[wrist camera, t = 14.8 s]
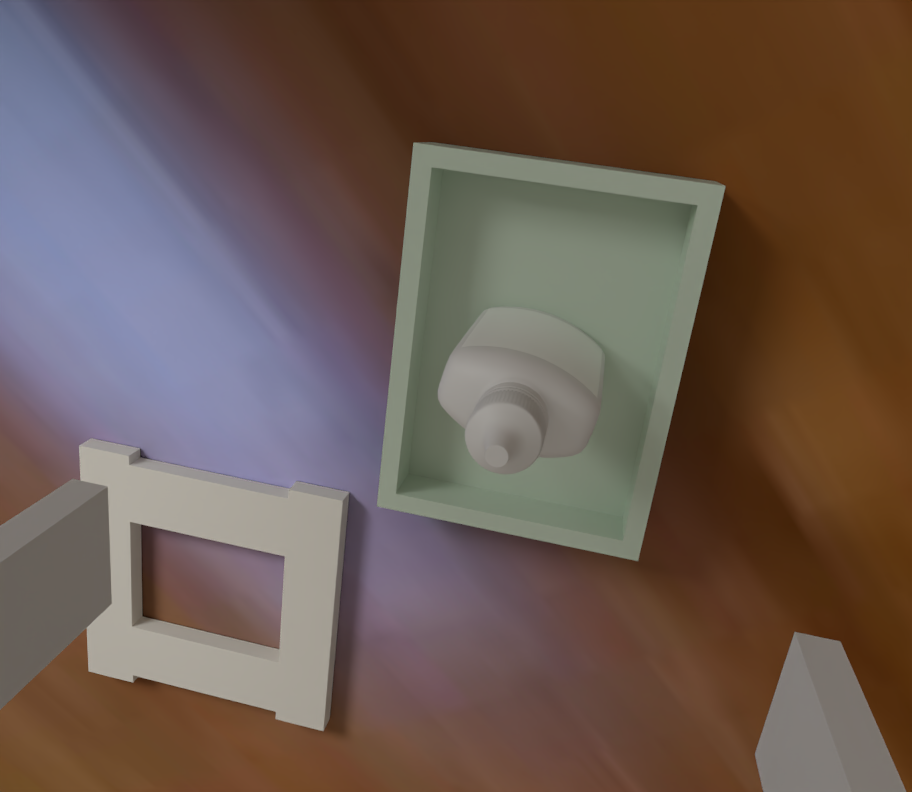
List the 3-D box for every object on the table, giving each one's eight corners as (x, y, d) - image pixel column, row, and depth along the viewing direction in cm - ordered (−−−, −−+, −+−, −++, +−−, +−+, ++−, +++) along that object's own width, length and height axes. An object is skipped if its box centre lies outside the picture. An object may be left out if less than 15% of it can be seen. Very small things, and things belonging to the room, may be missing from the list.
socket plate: (99, 660, 45) (88, 671, 44) (91, 438, 41) (79, 445, 40) (329, 718, 43) (323, 731, 42) (349, 491, 39) (342, 501, 38)
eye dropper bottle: (533, 266, 33) (487, 335, 21) (620, 366, 33) (619, 485, 22) (457, 332, 34) (377, 429, 23) (542, 427, 35) (504, 566, 24)
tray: (394, 478, 38) (376, 506, 35) (431, 141, 33) (413, 142, 30) (636, 528, 36) (638, 561, 33) (716, 181, 31) (725, 186, 28)
